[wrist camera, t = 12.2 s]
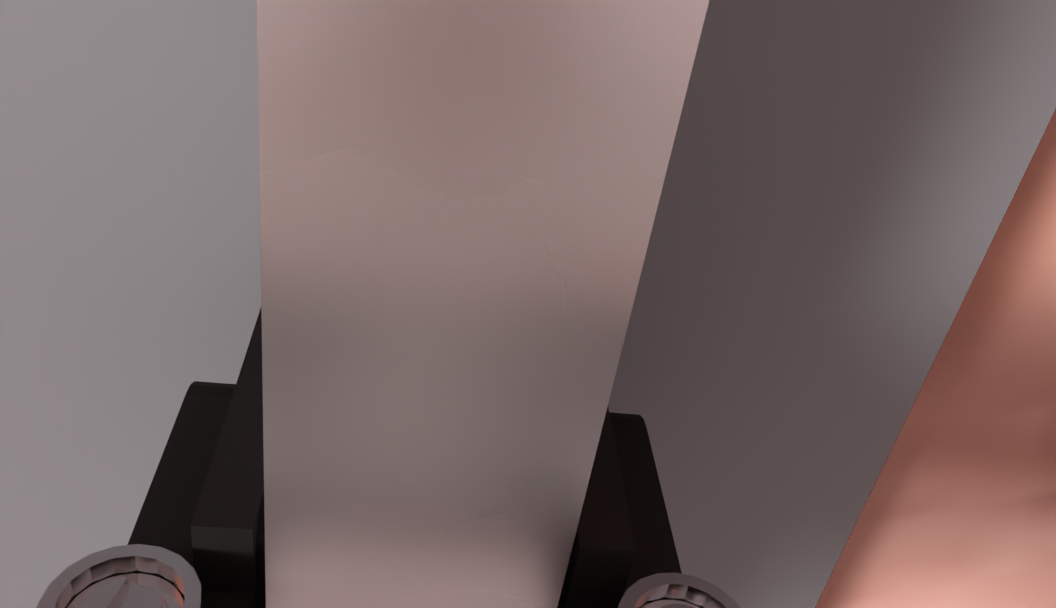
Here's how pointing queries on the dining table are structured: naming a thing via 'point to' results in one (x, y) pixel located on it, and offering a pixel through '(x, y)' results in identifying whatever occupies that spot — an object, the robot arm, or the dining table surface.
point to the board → (662, 294)
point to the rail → (449, 282)
